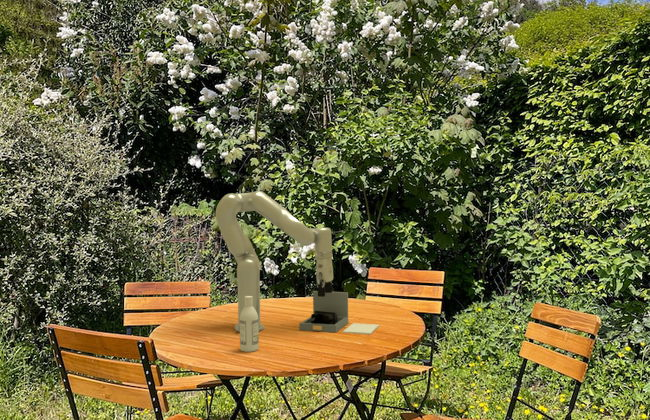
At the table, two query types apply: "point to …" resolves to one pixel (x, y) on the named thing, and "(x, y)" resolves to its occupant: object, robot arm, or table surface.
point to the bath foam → (249, 327)
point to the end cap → (324, 317)
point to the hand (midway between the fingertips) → (325, 294)
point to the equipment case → (328, 304)
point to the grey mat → (361, 328)
